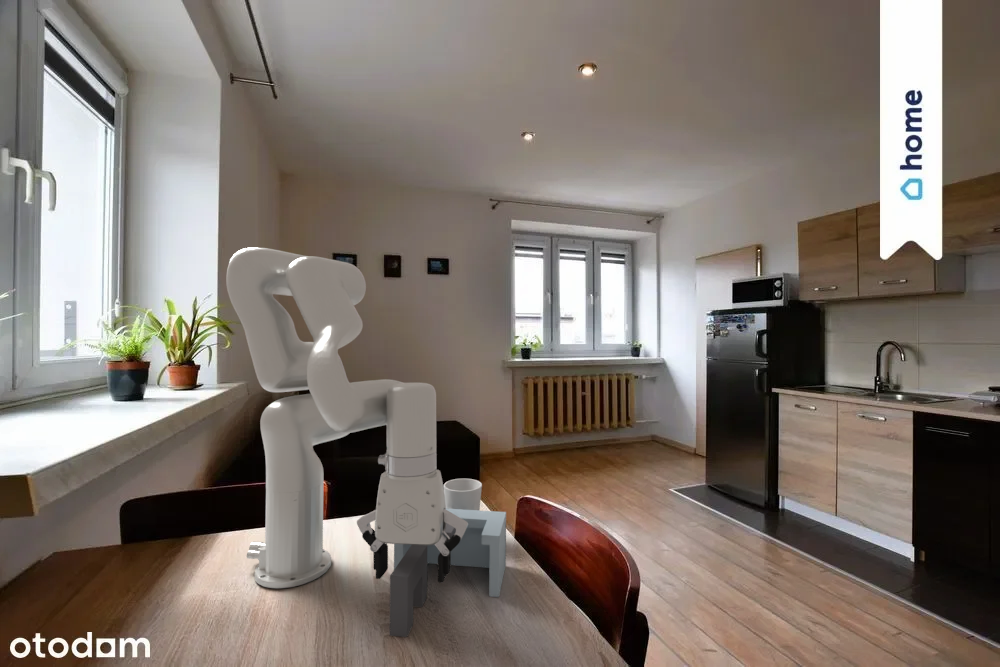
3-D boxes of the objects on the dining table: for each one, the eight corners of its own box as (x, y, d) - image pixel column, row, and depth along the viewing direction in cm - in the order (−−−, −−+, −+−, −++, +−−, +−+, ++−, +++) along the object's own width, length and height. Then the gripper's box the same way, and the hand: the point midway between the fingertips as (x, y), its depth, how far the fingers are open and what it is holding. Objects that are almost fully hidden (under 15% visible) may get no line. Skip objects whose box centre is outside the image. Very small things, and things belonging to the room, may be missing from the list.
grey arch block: (407, 637, 62) (407, 576, 62) (389, 635, 62) (390, 575, 62) (426, 597, 71) (427, 545, 71) (411, 595, 72) (412, 544, 72)
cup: (475, 553, 86) (476, 492, 86) (437, 549, 88) (438, 489, 88) (485, 535, 94) (485, 479, 94) (449, 532, 95) (450, 477, 95)
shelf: (393, 588, 74) (394, 529, 74) (412, 558, 84) (413, 506, 84) (498, 597, 72) (499, 536, 72) (505, 565, 81) (506, 512, 82)
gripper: (347, 469, 64) (347, 586, 64) (461, 472, 62) (462, 594, 62) (368, 456, 72) (368, 560, 71) (471, 458, 70) (472, 566, 69)
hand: (412, 576), depth 67 cm, fingers open, 9 cm apart
